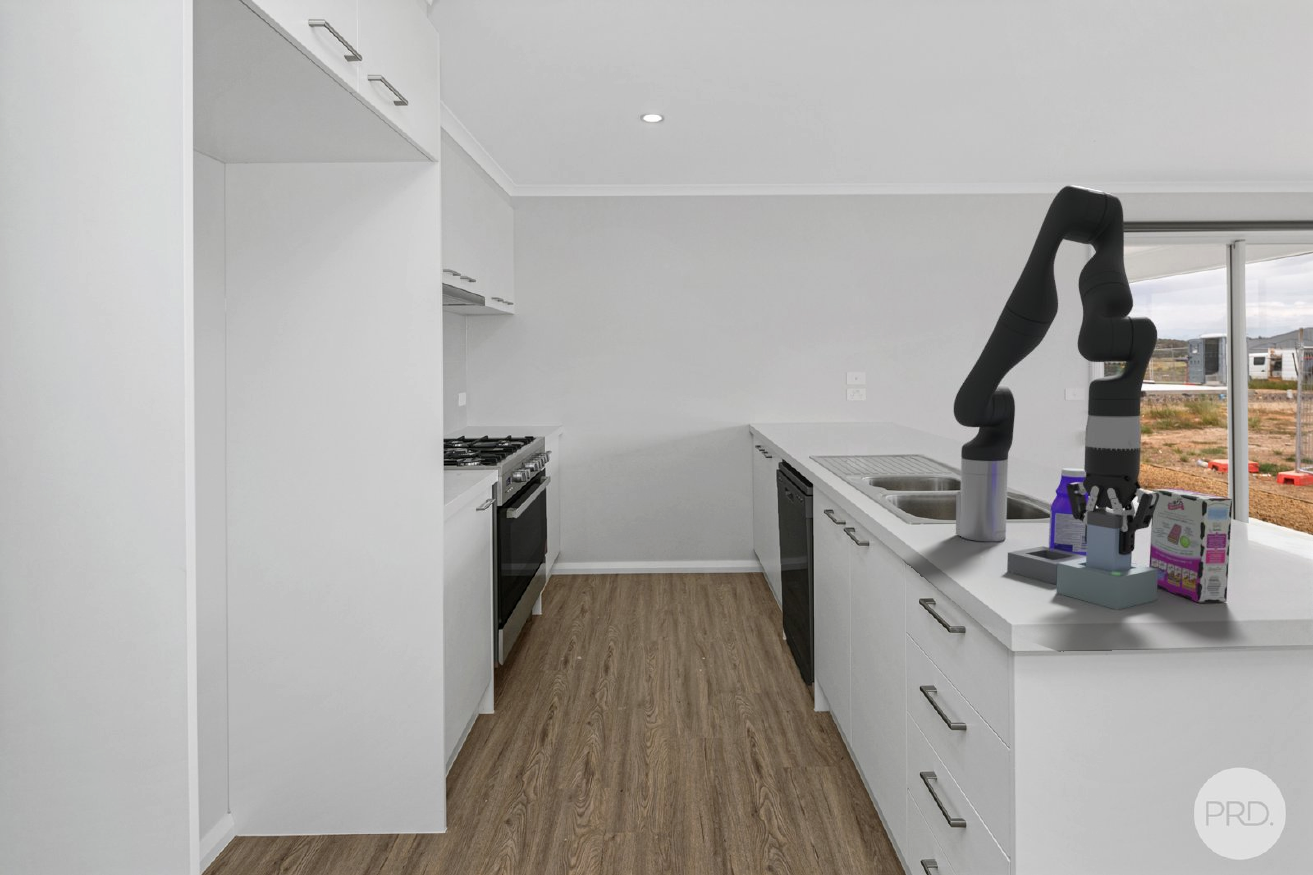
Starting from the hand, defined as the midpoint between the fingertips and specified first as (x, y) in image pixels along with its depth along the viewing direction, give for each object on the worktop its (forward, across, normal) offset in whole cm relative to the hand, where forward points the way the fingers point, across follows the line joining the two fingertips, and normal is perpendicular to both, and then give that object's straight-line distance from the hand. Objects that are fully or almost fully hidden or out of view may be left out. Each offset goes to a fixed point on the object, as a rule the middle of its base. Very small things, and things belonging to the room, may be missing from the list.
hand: (1108, 550), depth 121 cm
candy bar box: (+8, -5, -13) cm, 16 cm away
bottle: (+8, +18, -17) cm, 26 cm away
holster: (+8, +13, -4) cm, 16 cm away
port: (+8, 0, 0) cm, 8 cm away
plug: (+4, 0, 0) cm, 4 cm away
